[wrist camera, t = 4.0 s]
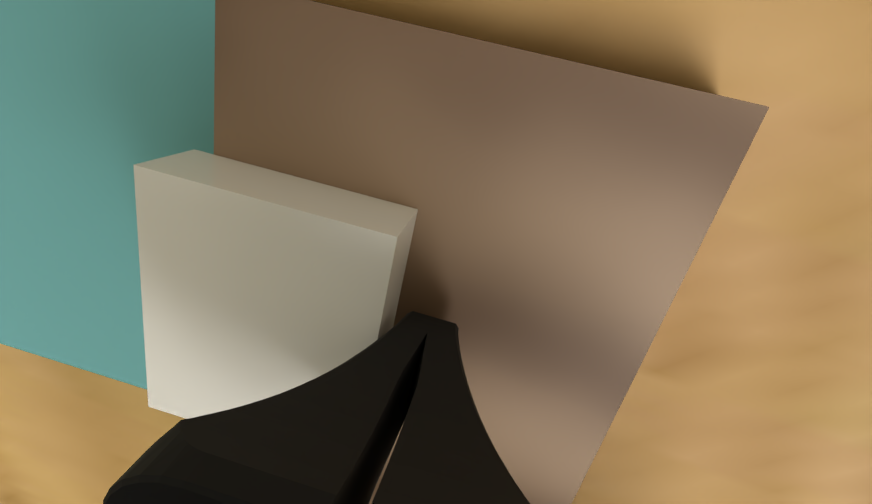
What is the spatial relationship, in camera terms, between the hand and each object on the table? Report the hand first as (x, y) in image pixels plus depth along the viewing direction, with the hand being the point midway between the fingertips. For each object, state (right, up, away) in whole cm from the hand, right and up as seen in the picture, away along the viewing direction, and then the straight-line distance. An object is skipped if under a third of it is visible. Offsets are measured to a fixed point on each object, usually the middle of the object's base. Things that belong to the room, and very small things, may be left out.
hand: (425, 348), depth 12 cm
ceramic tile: (-4, +1, +1) cm, 4 cm away
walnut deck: (0, +1, +3) cm, 3 cm away
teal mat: (-13, +5, +4) cm, 14 cm away
